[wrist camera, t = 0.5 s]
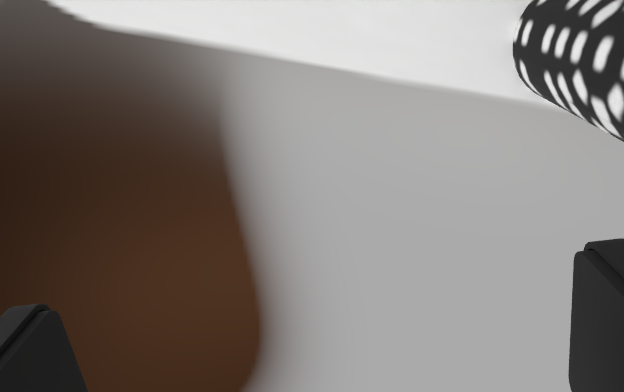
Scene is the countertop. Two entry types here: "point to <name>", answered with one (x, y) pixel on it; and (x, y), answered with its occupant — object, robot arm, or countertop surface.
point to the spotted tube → (575, 58)
